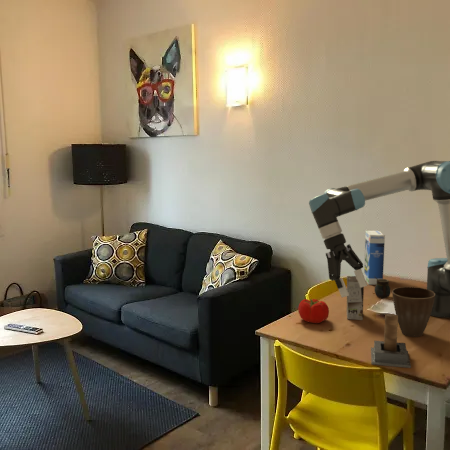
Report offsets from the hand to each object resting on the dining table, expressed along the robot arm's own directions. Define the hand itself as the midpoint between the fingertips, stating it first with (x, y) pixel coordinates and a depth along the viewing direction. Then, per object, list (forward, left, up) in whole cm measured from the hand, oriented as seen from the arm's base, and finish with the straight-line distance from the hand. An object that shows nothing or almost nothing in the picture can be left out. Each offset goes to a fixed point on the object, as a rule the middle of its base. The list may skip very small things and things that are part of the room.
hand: (355, 291), depth 177 cm
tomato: (+16, -18, -19) cm, 31 cm away
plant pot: (-21, -12, -19) cm, 30 cm away
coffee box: (0, -27, -19) cm, 33 cm away
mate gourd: (-12, -57, -19) cm, 61 cm away
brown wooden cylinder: (-12, +13, -18) cm, 25 cm away
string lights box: (-9, -84, -19) cm, 86 cm away
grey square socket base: (-12, +13, -19) cm, 25 cm away
